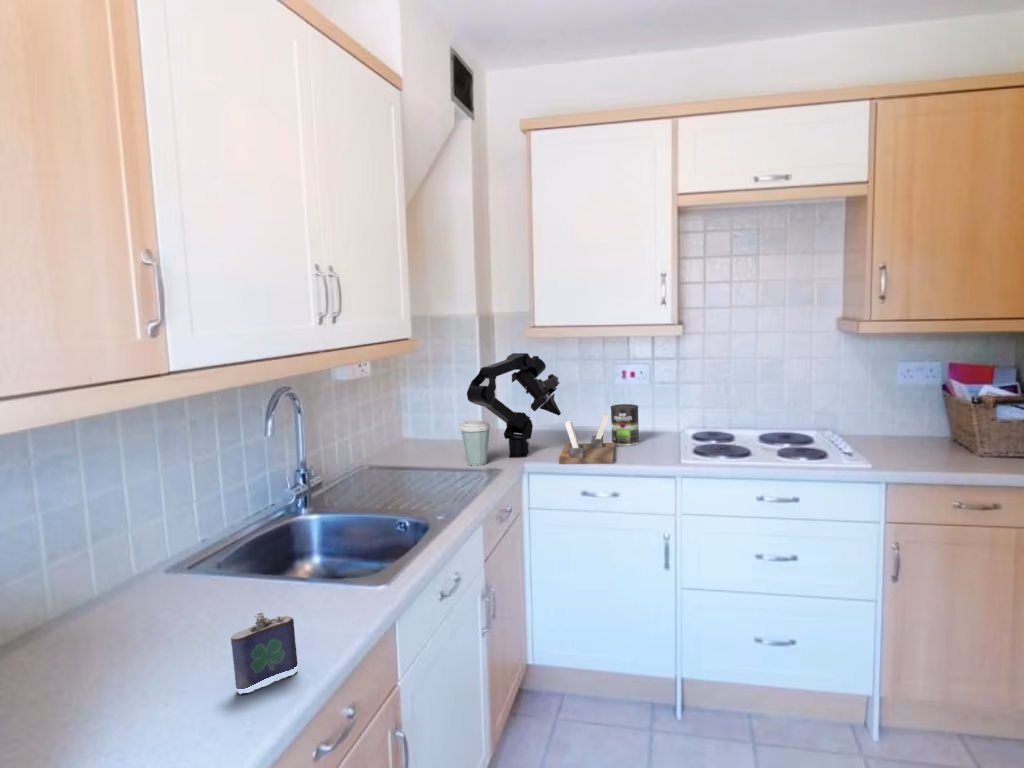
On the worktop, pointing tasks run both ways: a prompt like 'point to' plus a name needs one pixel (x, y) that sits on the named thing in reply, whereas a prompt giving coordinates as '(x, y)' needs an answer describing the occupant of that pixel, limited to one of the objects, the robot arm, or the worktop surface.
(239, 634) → the flask
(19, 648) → the worktop surface
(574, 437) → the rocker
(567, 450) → the switch board
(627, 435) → the coffee can
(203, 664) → the worktop surface
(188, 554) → the worktop surface
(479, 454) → the disposable coffee cup
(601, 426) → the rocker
